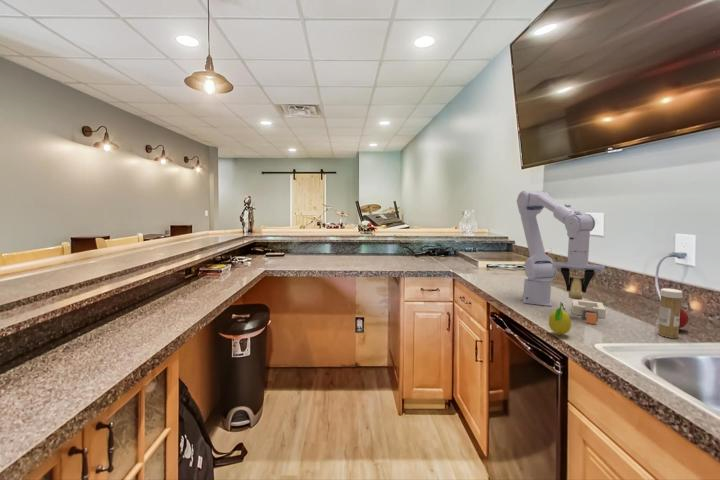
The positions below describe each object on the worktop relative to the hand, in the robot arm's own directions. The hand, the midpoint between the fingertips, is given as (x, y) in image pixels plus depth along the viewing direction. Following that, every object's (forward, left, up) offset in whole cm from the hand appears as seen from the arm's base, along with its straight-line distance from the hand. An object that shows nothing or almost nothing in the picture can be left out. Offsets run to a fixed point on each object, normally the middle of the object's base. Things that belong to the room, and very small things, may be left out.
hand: (575, 291), depth 111 cm
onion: (+25, 0, -9) cm, 27 cm away
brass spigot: (0, 0, -2) cm, 2 cm away
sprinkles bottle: (+22, -7, -9) cm, 25 cm away
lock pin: (+4, -2, -9) cm, 10 cm away
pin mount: (+4, 0, -9) cm, 10 cm away
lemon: (-5, -21, -9) cm, 23 cm away
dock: (+4, +7, -9) cm, 12 cm away
